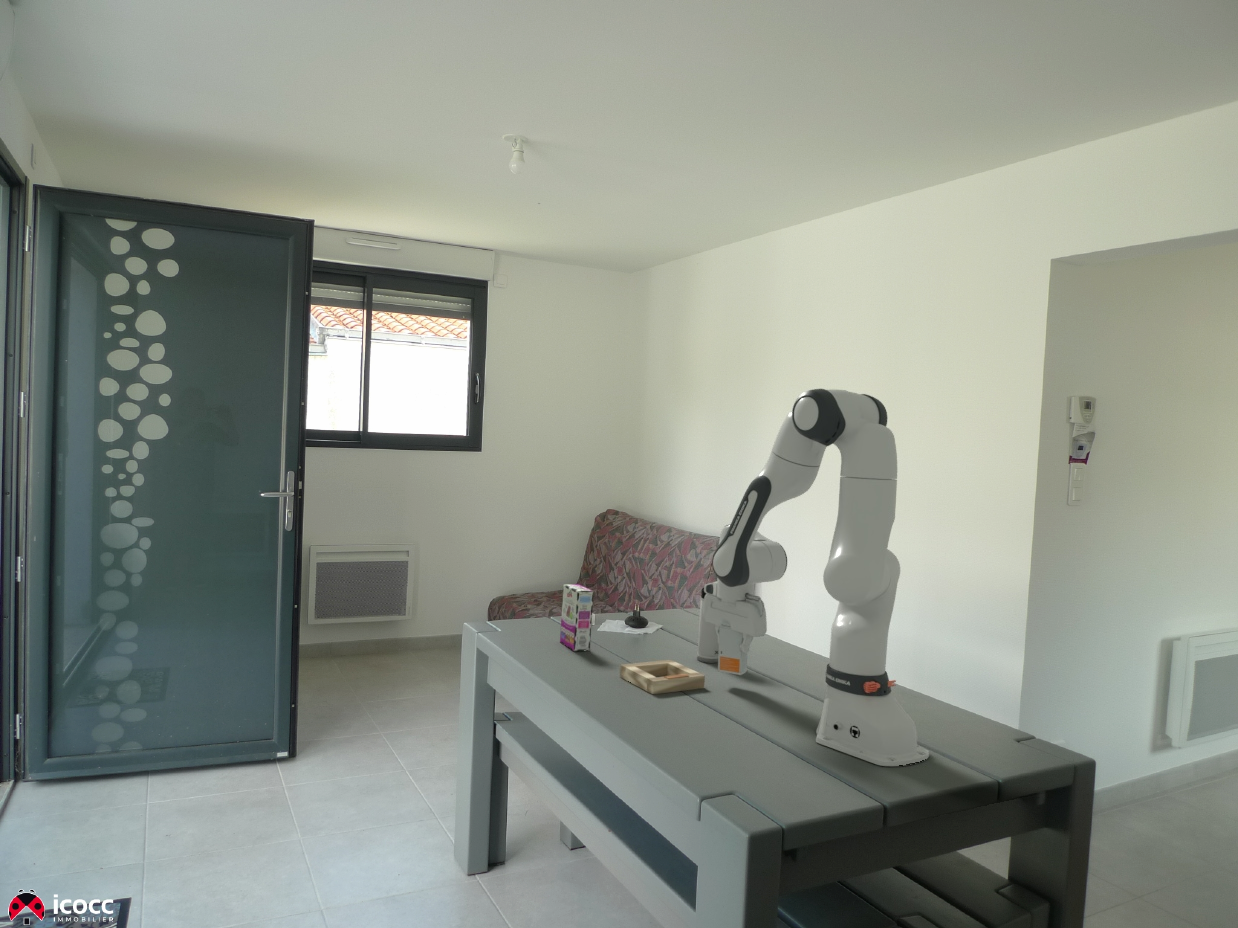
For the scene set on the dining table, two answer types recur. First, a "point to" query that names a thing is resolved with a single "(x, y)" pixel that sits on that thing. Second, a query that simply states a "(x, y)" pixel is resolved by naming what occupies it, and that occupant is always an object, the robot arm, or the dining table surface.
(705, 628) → the travel mug
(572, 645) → the candy bar box
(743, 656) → the skincare box
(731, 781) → the dining table surface
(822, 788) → the dining table surface
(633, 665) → the frame
